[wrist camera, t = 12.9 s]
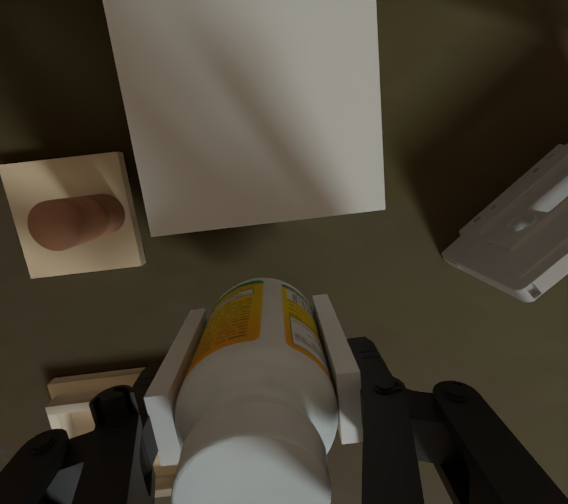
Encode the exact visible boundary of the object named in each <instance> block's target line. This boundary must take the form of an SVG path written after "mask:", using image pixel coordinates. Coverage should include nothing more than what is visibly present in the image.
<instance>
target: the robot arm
mask: <svg viewBox="0 0 568 504" xmlns="http://www.w3.org/2000/svg"><path fill="white" fill-rule="evenodd" d="M312 298H313V309H314V316H315V319H316V323H317V327H318V331H319V335H320V338H321V342H322V346H323V350H324V353H325V356H326V360H327V364H328V368H329V371H330V375H331V378H332V382H333V386H334V390H335V394H336V398H337V404H338V425H337V426H338V430H339V434H340V438H341V442H342V444H349V443H358V442H363V461H362V504H424V498H423V492H422V486H421V480H420V473H419V467H418V461H424V462H430V463H434V466H435V468H436V470H437V472H438V474H439V476H440V478H441V480H442V482H443V484H444V486H445V488H446V490H447V492H448V494H449V496H450V498H451V500H452V502H453V504H568V498H567V497H566V496H565V495H564V494H563V493H562V491H561V490H560V489H559V488H558V487H557V485H556V484H555V483H554V482H553V481H552V480H551V478H550V477H549V476H548V475H547V474H546V472H545V471H544V470H543V469H542V468H541V466H540V465H539V464H538V463H537V462H536V461H535V459H534V458H533V457H532V456H531V455H530V453H529V452H528V451H527V450H526V449H525V448H524V446H523V445H522V444H521V443H520V442H519V440H518V439H517V438H516V437H515V436H514V434H513V433H512V432H511V431H510V430H509V429H508V427H507V426H506V425H505V424H504V423H503V421H502V420H501V419H500V418H499V417H498V415H497V414H496V413H495V412H494V411H493V410H492V408H491V407H490V406H489V405H488V404H487V402H486V401H485V400H484V399H483V398H482V397H481V395H480V394H479V393H478V392H477V391H476V390H475V389H473V388H472V387H471V386H468V385H466V384H464V383H461V382H457V381H443V382H439V383H438V384H436V385H435V386H434V388H433V393H426V392H418V391H412V390H409V389H406V387H405V385H404V383H402V382H401V381H400V380H399V379H397V378H395V377H393V376H392V375H391V373H390V371H389V369H388V368H387V366H386V364H385V362H384V361H383V359H382V357H381V355H380V354H379V352H378V351H377V348H376V346H375V345H374V343H373V342H372V341H370V340H369V339H367V338H366V337H358V338H349V339H346V337H345V335H344V332H343V330H342V328H341V325H340V323H339V321H338V318H337V316H336V314H335V311H334V309H333V307H332V304H331V302H330V300H329V297H328V295H327V294H323V295H315V296H312ZM207 323H208V318H207V313H206V308H204V309H195V310H190V312H189V314H188V316H187V318H186V320H185V322H184V323H183V325H182V327H181V329H180V331H179V333H178V335H177V336H176V338H175V340H174V342H173V344H172V346H171V348H170V349H169V351H168V353H167V355H166V357H165V359H164V361H162V362H154V363H151V364H149V365H148V366H147V367H146V368H145V369H143V370H142V372H141V373H140V375H139V376H138V378H137V381H135V383H134V384H133V388H132V387H131V386H129V385H117V386H113V387H110V388H108V389H105V390H104V391H102V392H100V393H98V394H97V395H96V396H95V397H94V398H92V400H91V401H90V403H89V407H90V411H91V414H92V417H93V420H94V424H95V428H94V430H93V431H91V432H88V433H85V434H82V435H79V436H76V437H73V438H70V439H69V437H68V434H67V431H65V430H64V429H52V430H48V431H45V432H42V433H40V434H38V435H36V436H35V437H34V438H32V439H31V440H29V441H28V442H26V443H25V444H24V445H23V446H22V447H21V448H20V449H19V451H18V452H17V453H16V454H15V455H14V457H13V458H12V459H11V460H10V461H9V463H8V464H7V465H6V466H5V467H4V468H3V470H2V471H1V472H0V504H154V499H155V481H156V476H155V471H154V467H153V464H154V461H155V458H156V456H157V453H158V456H159V460H160V464H161V466H168V465H176V464H178V462H179V459H180V453H181V446H180V444H179V441H178V438H177V434H176V429H175V407H176V401H177V398H178V395H179V391H180V389H181V387H182V384H183V381H184V379H185V376H186V374H187V371H188V369H189V367H190V364H191V362H192V360H193V357H194V355H195V353H196V350H197V348H198V345H199V343H200V340H201V338H202V335H203V333H204V330H205V328H206V325H207ZM417 460H418V461H417Z"/></svg>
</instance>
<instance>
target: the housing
mask: <svg viewBox="0 0 568 504" xmlns="http://www.w3.org/2000/svg"><path fill="white" fill-rule="evenodd" d="M102 1H103V6H104V10H105V15H106V20H107V25H108V30H109V35H110V40H111V44H112V49H113V54H114V59H115V64H116V69H117V74H118V78H119V83H120V88H121V93H122V98H123V103H124V108H125V112H126V117H127V122H128V127H129V132H130V137H131V142H132V146H133V151H134V156H135V161H136V166H137V171H138V176H139V180H140V185H141V190H142V195H143V200H144V205H145V210H146V214H147V219H148V224H149V229H150V234H151V237H156V236H164V235H173V234H181V233H190V232H198V231H207V230H215V229H224V228H232V227H241V226H249V225H258V224H267V223H275V222H284V221H292V220H301V219H309V218H318V217H326V216H335V215H343V214H352V213H360V212H369V211H377V210H385V189H384V167H383V144H382V122H381V100H380V77H379V55H378V32H377V10H376V0H102Z"/></svg>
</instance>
